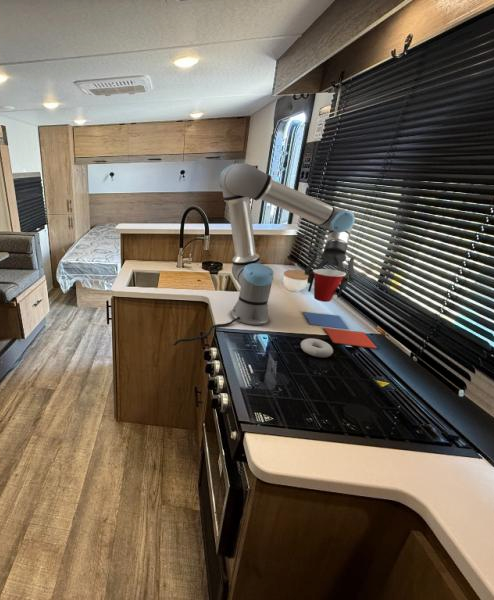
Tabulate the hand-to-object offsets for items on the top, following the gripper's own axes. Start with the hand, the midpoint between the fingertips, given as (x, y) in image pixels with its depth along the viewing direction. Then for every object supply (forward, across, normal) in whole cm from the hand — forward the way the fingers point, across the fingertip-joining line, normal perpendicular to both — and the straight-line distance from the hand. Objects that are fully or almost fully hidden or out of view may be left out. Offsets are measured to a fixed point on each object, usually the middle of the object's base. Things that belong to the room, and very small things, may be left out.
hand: (323, 292), depth 121 cm
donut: (+26, -2, +3) cm, 26 cm away
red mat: (+13, -12, -10) cm, 20 cm away
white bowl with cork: (-20, +13, -43) cm, 49 cm away
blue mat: (+4, -3, -19) cm, 19 cm away
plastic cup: (+1, 0, -5) cm, 5 cm away
